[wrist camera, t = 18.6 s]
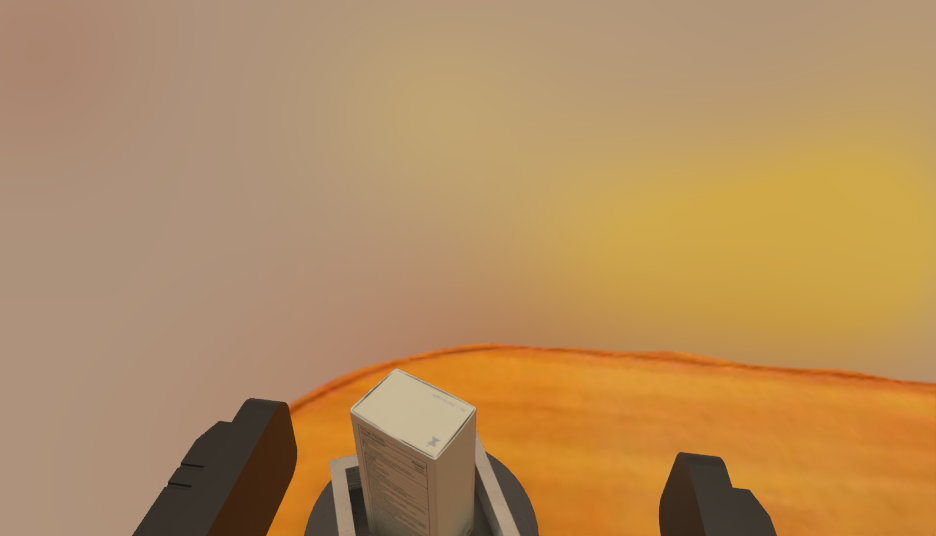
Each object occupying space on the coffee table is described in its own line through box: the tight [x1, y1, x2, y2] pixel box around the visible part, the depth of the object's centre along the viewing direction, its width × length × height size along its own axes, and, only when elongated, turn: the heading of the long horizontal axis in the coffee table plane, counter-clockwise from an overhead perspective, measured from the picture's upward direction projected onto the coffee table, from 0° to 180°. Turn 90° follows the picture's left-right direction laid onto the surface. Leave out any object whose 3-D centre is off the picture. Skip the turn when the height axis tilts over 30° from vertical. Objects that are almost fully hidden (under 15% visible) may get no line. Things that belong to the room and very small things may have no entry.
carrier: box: [304, 431, 539, 536], centre depth 38 cm, size 16×16×4 cm
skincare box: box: [350, 369, 476, 536], centre depth 34 cm, size 6×4×12 cm
